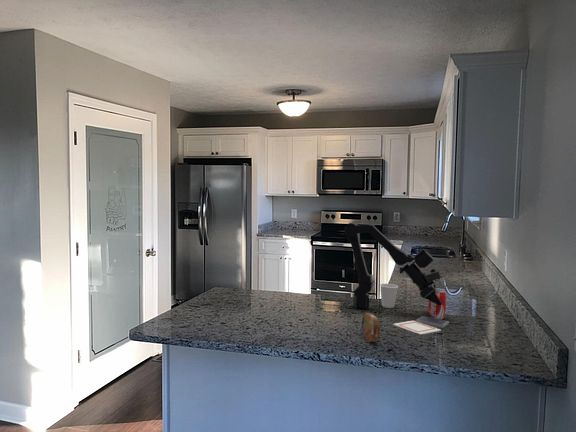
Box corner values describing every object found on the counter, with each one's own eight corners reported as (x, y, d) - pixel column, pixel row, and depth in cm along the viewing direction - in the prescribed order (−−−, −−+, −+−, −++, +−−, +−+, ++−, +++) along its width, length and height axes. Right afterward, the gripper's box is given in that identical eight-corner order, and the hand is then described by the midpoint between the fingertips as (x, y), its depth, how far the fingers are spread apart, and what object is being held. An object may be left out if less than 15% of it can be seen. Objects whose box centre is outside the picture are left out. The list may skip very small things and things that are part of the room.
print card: (392, 324, 182) (392, 323, 182) (413, 321, 189) (413, 320, 189) (420, 334, 171) (420, 333, 171) (441, 330, 177) (441, 329, 177)
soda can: (446, 320, 192) (448, 292, 192) (428, 319, 194) (430, 291, 193) (443, 316, 199) (445, 289, 199) (427, 314, 201) (429, 288, 200)
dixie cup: (385, 303, 219) (386, 282, 218) (400, 307, 213) (401, 285, 212) (375, 305, 213) (376, 284, 212) (390, 309, 207) (391, 287, 206)
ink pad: (415, 322, 187) (416, 319, 187) (422, 318, 194) (422, 315, 194) (442, 328, 181) (442, 325, 181) (448, 324, 187) (449, 321, 187)
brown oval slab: (360, 331, 170) (362, 309, 170) (368, 332, 171) (370, 309, 170) (371, 345, 155) (372, 321, 155) (380, 345, 156) (381, 321, 155)
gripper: (430, 266, 188) (456, 296, 185) (431, 260, 205) (455, 287, 202) (409, 283, 190) (435, 312, 188) (411, 276, 208) (435, 303, 205)
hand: (440, 303), depth 196 cm, fingers closed on soda can, 7 cm apart
